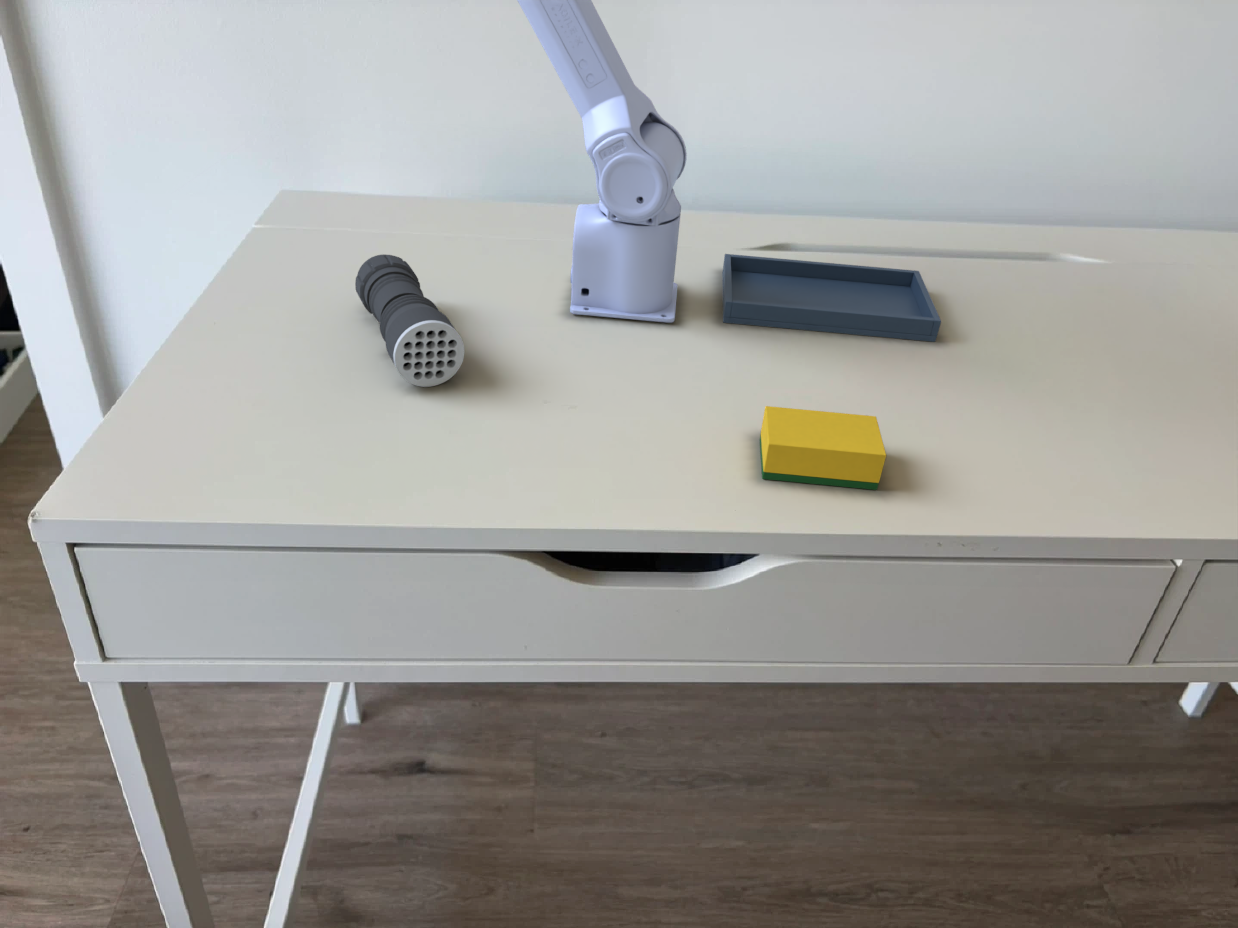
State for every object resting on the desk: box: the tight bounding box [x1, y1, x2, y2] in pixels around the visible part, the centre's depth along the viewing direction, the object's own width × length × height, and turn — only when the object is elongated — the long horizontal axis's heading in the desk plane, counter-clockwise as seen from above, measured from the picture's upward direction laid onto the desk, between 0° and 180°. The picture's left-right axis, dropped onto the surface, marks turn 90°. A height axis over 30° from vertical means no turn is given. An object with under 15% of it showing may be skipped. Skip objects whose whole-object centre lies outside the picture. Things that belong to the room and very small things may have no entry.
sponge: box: [759, 405, 887, 491], centre depth 66 cm, size 8×5×3 cm, turn 85°
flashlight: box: [355, 253, 465, 388], centre depth 76 cm, size 15×5×5 cm, turn 25°
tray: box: [721, 253, 942, 343], centre depth 88 cm, size 19×11×2 cm, turn 85°
